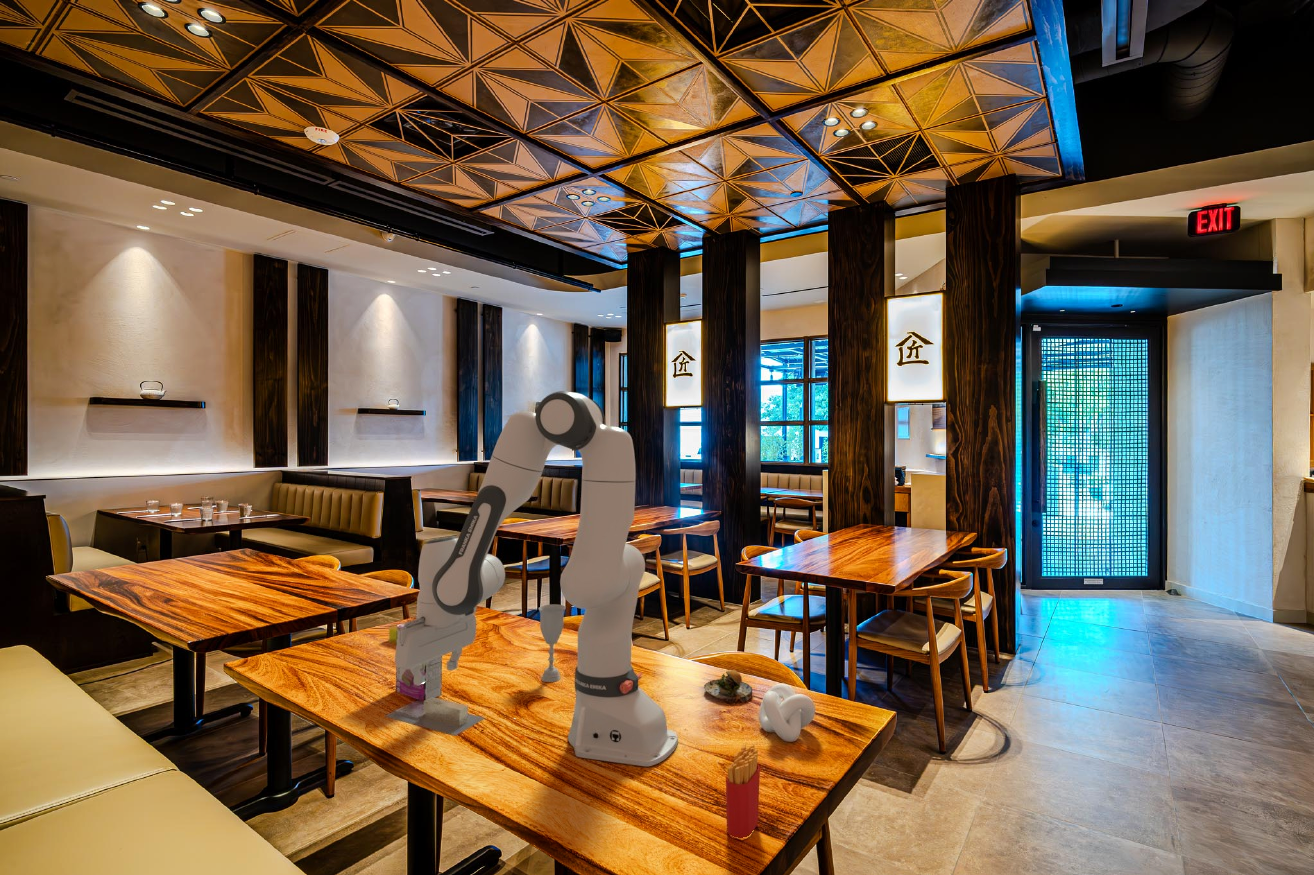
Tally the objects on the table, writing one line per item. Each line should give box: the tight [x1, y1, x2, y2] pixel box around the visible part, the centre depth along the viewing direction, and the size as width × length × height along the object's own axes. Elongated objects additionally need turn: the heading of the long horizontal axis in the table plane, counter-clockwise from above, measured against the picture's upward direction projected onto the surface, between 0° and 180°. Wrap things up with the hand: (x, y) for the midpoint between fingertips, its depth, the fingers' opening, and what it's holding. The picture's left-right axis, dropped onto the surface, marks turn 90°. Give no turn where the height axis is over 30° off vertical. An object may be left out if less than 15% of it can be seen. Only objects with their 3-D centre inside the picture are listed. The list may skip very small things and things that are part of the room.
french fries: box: [725, 744, 761, 838], centre depth 98 cm, size 8×4×12 cm, turn 151°
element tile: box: [388, 622, 406, 645], centre depth 190 cm, size 15×15×5 cm
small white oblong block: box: [394, 697, 469, 727], centre depth 134 cm, size 17×5×4 cm, turn 65°
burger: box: [703, 664, 754, 705], centre depth 151 cm, size 12×12×8 cm
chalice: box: [538, 603, 567, 683], centre depth 159 cm, size 7×7×18 cm
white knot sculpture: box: [758, 683, 816, 743], centre depth 130 cm, size 11×12×9 cm
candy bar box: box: [395, 623, 443, 702], centre depth 146 cm, size 11×5×16 cm, turn 58°
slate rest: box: [384, 700, 486, 737], centre depth 134 cm, size 20×9×1 cm, turn 65°
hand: (436, 676), depth 133 cm, fingers open, 8 cm apart
